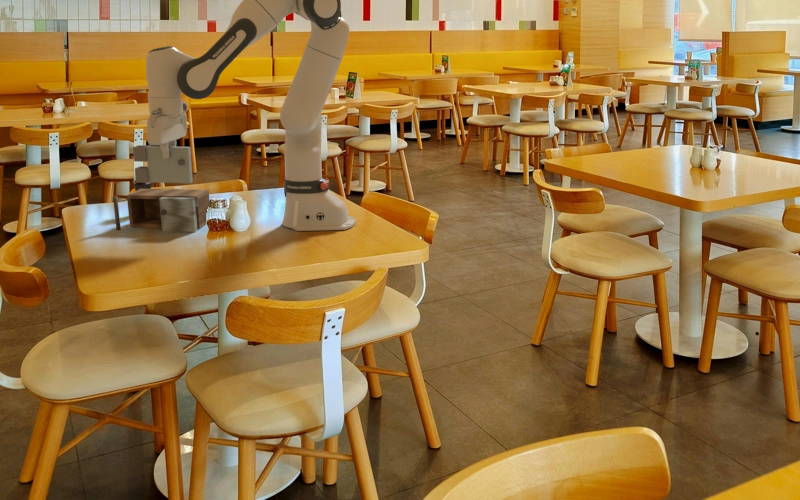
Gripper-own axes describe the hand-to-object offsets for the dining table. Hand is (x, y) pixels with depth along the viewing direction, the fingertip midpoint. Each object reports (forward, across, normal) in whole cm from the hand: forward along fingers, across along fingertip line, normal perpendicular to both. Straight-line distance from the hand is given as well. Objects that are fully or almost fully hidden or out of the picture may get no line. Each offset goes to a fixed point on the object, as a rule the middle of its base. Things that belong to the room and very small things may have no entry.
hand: (169, 157), depth 219 cm
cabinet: (+24, +14, +9) cm, 29 cm away
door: (+7, 0, +2) cm, 7 cm away
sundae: (+24, +31, +22) cm, 45 cm away
